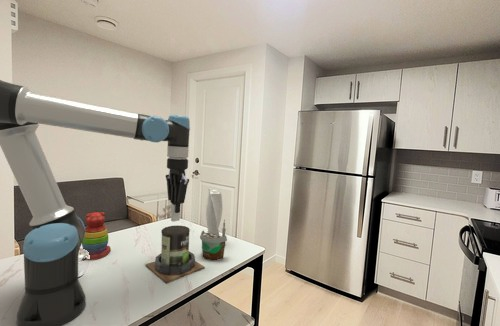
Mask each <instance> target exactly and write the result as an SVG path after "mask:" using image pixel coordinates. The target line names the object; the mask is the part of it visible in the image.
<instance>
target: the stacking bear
mask: <svg viewBox="0 0 500 326" xmlns="http://www.w3.org/2000/svg"><path fill="white" fill-rule="evenodd" d="M105 216H106V213H105V212H104V211H103V212H98V211H97V212H96V211H94V212H91V213H90V212H89V213H87V214H86V215H85V223H86V227H85V236H84V239H83V241H82V244H81V246H82V250H83V249H85V250H87V251H88V252H89V255H90V260H89V261H92V260H93V261H95V260H99V259H102V258H104V257H106V256H107V255H108V254H110V252H112V251H111V246H109V245H108V244H109V232H108V229H107V227H106V225H104V224H105V220H106V218H105Z"/></svg>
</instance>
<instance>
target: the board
mask: <svg viewBox="0 0 500 326" xmlns="http://www.w3.org/2000/svg"><path fill="white" fill-rule="evenodd" d="M188 262H189V261H188ZM144 265H145V267H146V268H147V269H148V271H149V270H150V272H152V273H153V274H154V275H155V276H156V277H157V278H159V279H160V280H161V281H162V282H163V283H165V284H170V283H171V282H174V281H177V280H179V279H182V278H185V277H187V276H190V275H192V274H195V273H197V272H200V271H202V270H205V268H206V267H205V266H204V265H203V264H202V263H200V262H198V261H196V260H195V266H194V267H193V268H192V270H191V271H189V272H186V273H184V274H181V275H164V274H160V273H158V272H157V271H156V270H155V260H154V261H151V262H148V263H145V264H144Z"/></svg>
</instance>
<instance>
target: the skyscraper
mask: <svg viewBox="0 0 500 326" xmlns="http://www.w3.org/2000/svg"><path fill="white" fill-rule="evenodd" d="M207 189H208V193H207V199H206V200H207V201H206V207H205V218H206V219H205V221H206V225H207V232H206V233H209V234H216V235H218V236H220V230H219V227H220V224H221V221H222V216H223V195H222V192H221V190H219V189H217V188H213V187H210V188H207ZM225 221H226V219H223V226H222V229H221V230H222V231H221V232H222V233H221V234H222V235H221V236H222V237H223V236H226V223H225Z"/></svg>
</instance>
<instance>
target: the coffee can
mask: <svg viewBox="0 0 500 326" xmlns="http://www.w3.org/2000/svg"><path fill="white" fill-rule="evenodd" d="M190 231H191V229H190V227H188V226H185V225H170V226H166V227H163V228H162V229H161V251H160V254H161V263H162V264H164V265H169V266H174V265H182V264H184V263H187V262H188V258H189V252H190V250H189V248H190Z"/></svg>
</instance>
